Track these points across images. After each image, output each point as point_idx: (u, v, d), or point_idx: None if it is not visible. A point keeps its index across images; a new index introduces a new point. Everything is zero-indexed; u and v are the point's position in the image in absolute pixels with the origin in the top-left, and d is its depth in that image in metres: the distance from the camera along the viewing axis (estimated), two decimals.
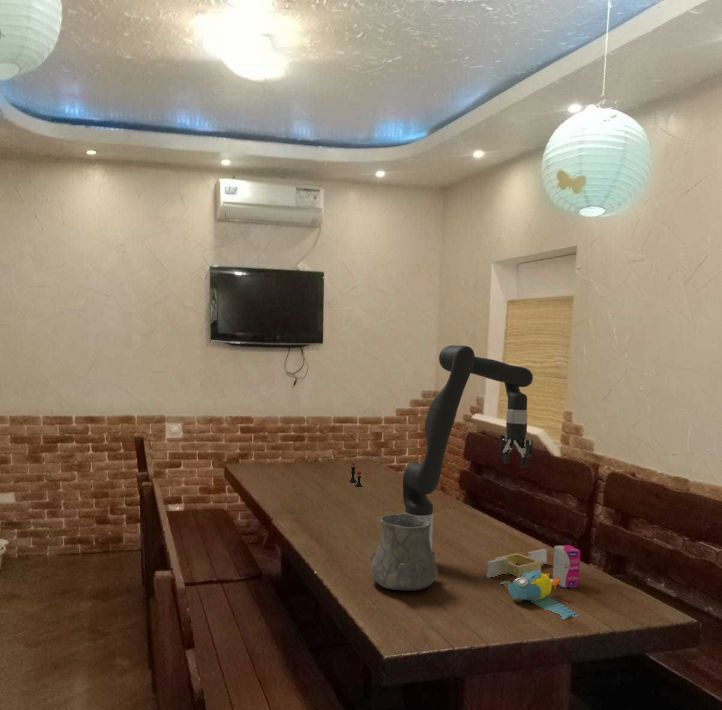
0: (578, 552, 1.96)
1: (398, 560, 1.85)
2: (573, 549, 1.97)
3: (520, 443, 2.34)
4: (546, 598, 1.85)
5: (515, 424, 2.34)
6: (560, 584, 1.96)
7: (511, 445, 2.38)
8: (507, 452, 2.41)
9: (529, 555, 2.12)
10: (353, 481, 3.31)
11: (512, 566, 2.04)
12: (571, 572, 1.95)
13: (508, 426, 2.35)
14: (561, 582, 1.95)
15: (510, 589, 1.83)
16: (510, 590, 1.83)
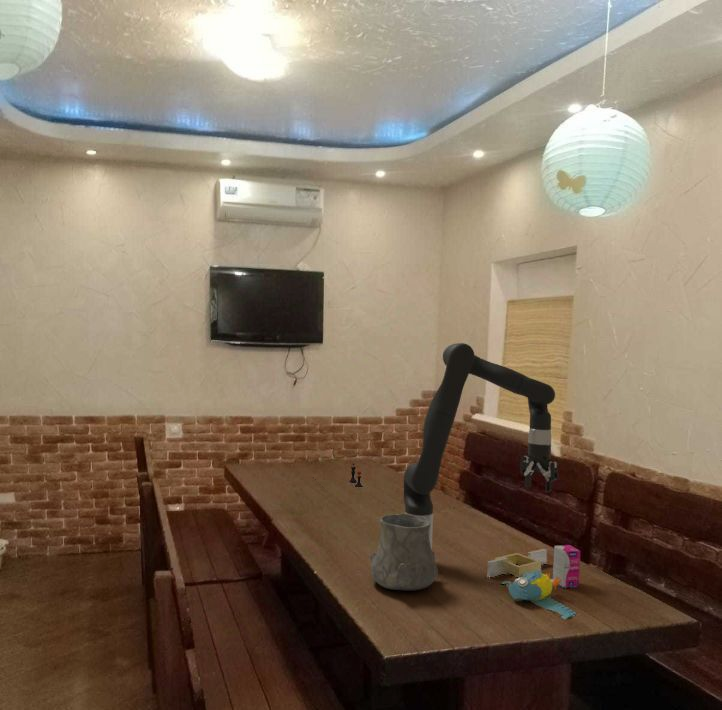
0: (578, 552, 1.96)
1: (398, 560, 1.85)
2: (573, 549, 1.97)
3: (544, 466, 2.15)
4: (546, 598, 1.85)
5: (539, 445, 2.15)
6: (560, 584, 1.96)
7: (534, 468, 2.19)
8: (529, 475, 2.22)
9: (529, 555, 2.12)
10: (353, 481, 3.31)
11: (512, 566, 2.04)
12: (571, 572, 1.95)
13: (531, 447, 2.16)
14: (561, 582, 1.95)
15: (510, 589, 1.83)
16: (510, 590, 1.83)
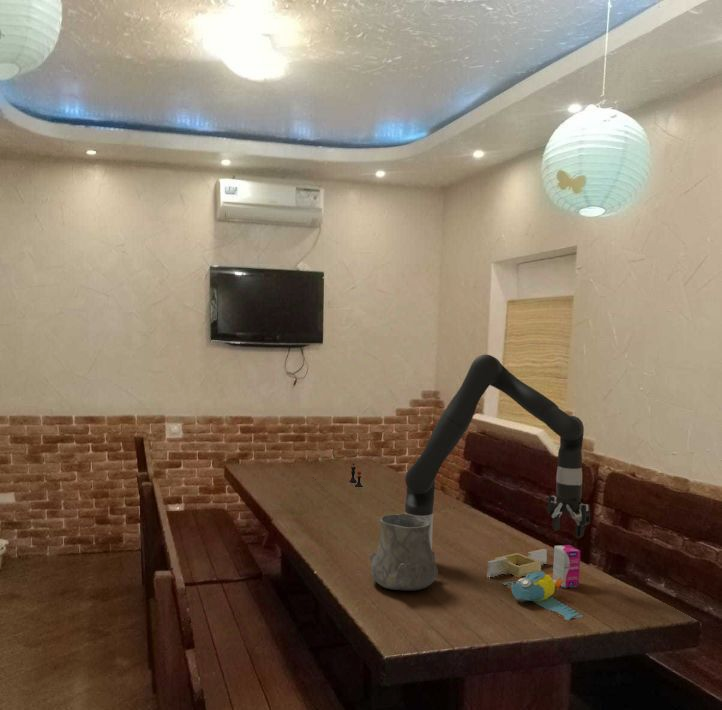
0: (578, 552, 1.96)
1: (398, 560, 1.85)
2: (573, 549, 1.97)
3: (574, 508, 1.95)
4: (549, 599, 1.84)
5: (568, 485, 1.94)
6: None
7: (563, 509, 1.98)
8: (557, 517, 2.01)
9: (529, 555, 2.12)
10: (353, 481, 3.31)
11: (512, 566, 2.04)
12: (571, 572, 1.95)
13: (559, 487, 1.96)
14: None
15: (513, 590, 1.83)
16: (513, 591, 1.83)
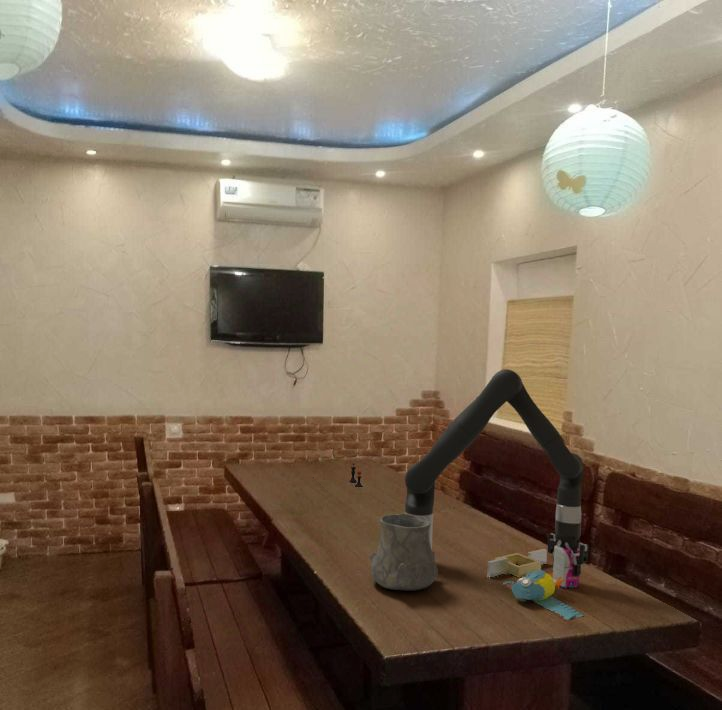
0: (578, 552, 1.96)
1: (398, 560, 1.85)
2: None
3: (573, 546, 1.95)
4: (549, 598, 1.84)
5: (567, 524, 1.94)
6: None
7: (562, 547, 1.98)
8: None
9: (529, 555, 2.12)
10: (353, 481, 3.31)
11: (512, 566, 2.04)
12: (571, 572, 1.95)
13: (558, 525, 1.96)
14: None
15: (513, 589, 1.83)
16: (513, 590, 1.83)
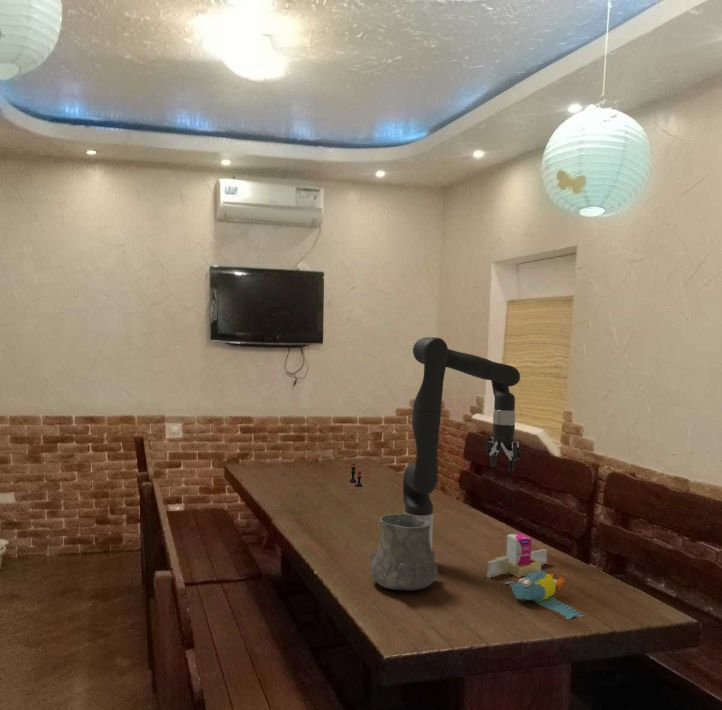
0: (529, 540, 2.07)
1: (398, 560, 1.85)
2: (525, 537, 2.08)
3: (507, 445, 2.22)
4: (550, 598, 1.85)
5: (502, 425, 2.21)
6: None
7: (498, 447, 2.25)
8: (494, 455, 2.28)
9: None
10: (353, 481, 3.31)
11: (512, 566, 2.04)
12: (523, 559, 2.06)
13: (495, 427, 2.23)
14: None
15: (514, 589, 1.83)
16: (514, 590, 1.83)
